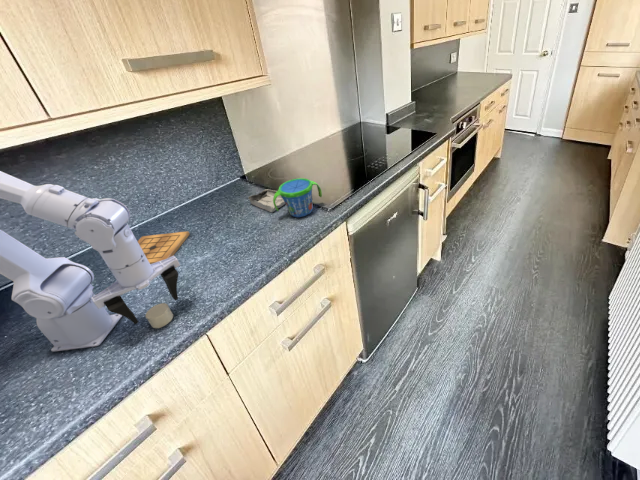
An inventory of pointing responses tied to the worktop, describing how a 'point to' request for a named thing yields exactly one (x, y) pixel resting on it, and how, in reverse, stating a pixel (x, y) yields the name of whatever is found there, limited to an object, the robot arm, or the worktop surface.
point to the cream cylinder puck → (159, 315)
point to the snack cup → (297, 196)
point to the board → (161, 245)
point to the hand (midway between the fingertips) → (156, 308)
